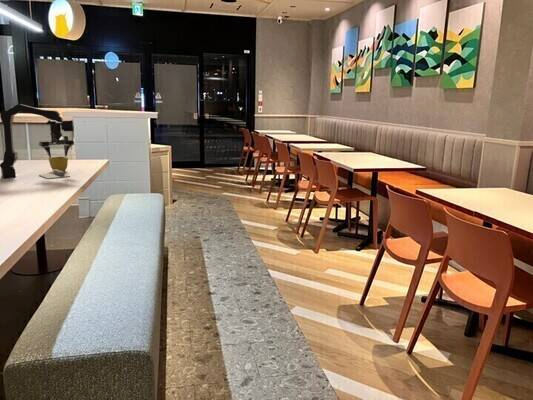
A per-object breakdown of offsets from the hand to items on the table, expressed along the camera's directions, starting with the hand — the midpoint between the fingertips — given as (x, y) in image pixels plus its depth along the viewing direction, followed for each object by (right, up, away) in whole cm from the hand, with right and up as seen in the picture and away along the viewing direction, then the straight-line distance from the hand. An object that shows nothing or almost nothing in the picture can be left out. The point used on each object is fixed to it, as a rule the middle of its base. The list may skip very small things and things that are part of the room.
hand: (58, 157), depth 268 cm
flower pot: (-8, -8, +19) cm, 22 cm away
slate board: (-2, -12, +1) cm, 12 cm away
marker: (-1, -11, +3) cm, 11 cm away
